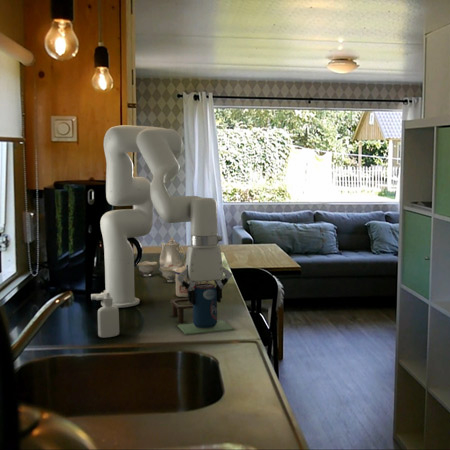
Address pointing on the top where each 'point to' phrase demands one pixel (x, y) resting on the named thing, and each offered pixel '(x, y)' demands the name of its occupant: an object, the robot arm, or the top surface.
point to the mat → (193, 330)
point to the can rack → (179, 309)
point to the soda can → (205, 306)
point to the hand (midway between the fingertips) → (205, 302)
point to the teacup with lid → (181, 290)
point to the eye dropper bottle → (108, 319)
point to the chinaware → (165, 261)
